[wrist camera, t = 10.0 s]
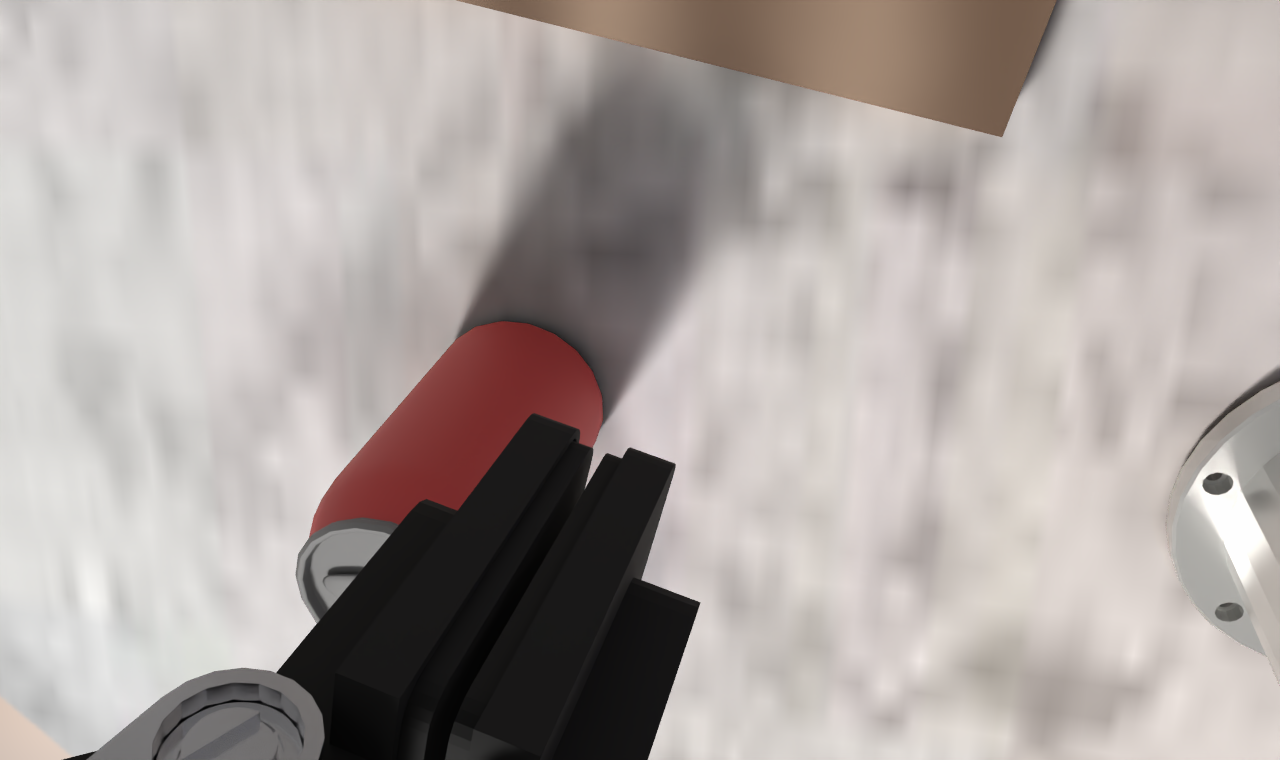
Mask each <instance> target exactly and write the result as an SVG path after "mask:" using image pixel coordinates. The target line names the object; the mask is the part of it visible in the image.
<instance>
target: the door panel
mask: <svg viewBox="0 0 1280 760" xmlns="http://www.w3.org/2000/svg"><path fill="white" fill-rule="evenodd" d="M457 1H461V2H465V3H469V4H473V5H477V6H481V7H485V8H489V9H493V10H497V11H501V12H505V13H509V14H513V15H517V16H521V17H525V18H529V19H533V20H537V21H541V22H545V23H549V24H553V25H557V26H561V27H565V28H569V29H573V30H577V31H581V32H585V33H589V34H593V35H597V36H601V37H605V38H609V39H613V40H617V41H621V42H625V43H629V44H633V45H637V46H641V47H645V48H649V49H653V50H657V51H661V52H665V53H669V54H673V55H677V56H681V57H685V58H688V59H692V60H696V61H700V62H704V63H708V64H712V65H716V66H720V67H724V68H728V69H732V70H736V71H740V72H744V73H748V74H752V75H756V76H760V77H764V78H768V79H772V80H776V81H780V82H784V83H788V84H792V85H796V86H800V87H804V88H808V89H812V90H816V91H820V92H824V93H828V94H832V95H836V96H840V97H844V98H848V99H852V100H856V101H860V102H864V103H868V104H872V105H876V106H880V107H884V108H888V109H892V110H896V111H900V112H904V113H908V114H912V115H916V116H920V117H924V118H928V119H932V120H936V121H940V122H944V123H947V124H951V125H955V126H959V127H963V128H967V129H971V130H975V131H979V132H983V133H987V134H991V135H995V136H999V137H1002V136H1003V134H1004V131H1005V129H1006V126H1007V124H1008V121H1009V119H1010V116H1011V114H1012V111H1013V108H1014V106H1015V103H1016V101H1017V98H1018V96H1019V93H1020V91H1021V88H1022V86H1023V83H1024V81H1025V78H1026V76H1027V73H1028V71H1029V68H1030V66H1031V63H1032V61H1033V58H1034V56H1035V53H1036V51H1037V48H1038V46H1039V43H1040V41H1041V38H1042V36H1043V33H1044V31H1045V28H1046V26H1047V23H1048V21H1049V18H1050V16H1051V13H1052V11H1053V8H1054V6H1055V3H1056V1H1057V0H457Z"/></svg>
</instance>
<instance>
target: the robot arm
mask: <svg viewBox="0 0 1280 760" xmlns="http://www.w3.org/2000/svg"><path fill="white" fill-rule="evenodd" d="M579 440H580V430H579V429H577V428H575V427H572V426H569V425H566V424H563V423H561V422H558V421H555V420H552V419H550V418H547V417H544V416H541V415H538V414H536V413H533V414H531V415H530V416H529V417H528V418H527V420H526V421H525V422H524V424H523V425H522V426H521V427H520V429H519V430H518V431H517V433H516V434H515V435H514V437H513V438H512V439H511V441H510V442H509V443H508V445H507V446H506V447H505V449H504V450H503V451H502V453H501V454H500V455H499V457H498V458H497V459H496V461H495V462H494V463H493V464H492V466H491V467H490V468H489V470H488V471H487V472H486V474H485V475H484V476H483V478H482V479H481V480H480V482H479V483H478V484H477V486H476V487H475V488H474V490H473V491H472V492H471V494H470V495H469V496H468V497H467V499H466V500H465V501H464V503H463V504H462V505H461V507H460V508H459V509H458V511H457V510H455V509H452V508H449V507H447V506H444V505H441V504H439V503H436V502H434V501H431V500H428V499H425V500H423V501H420V502H419V503H418V504H417V505H416V506H415V507H414V508H413V509H412V510H411V511H410V512H409V513H408V515H407V516H406V517H405V518H404V519H403V521H402V522H401V523H400V524H399V525H398V527H397V528H396V529H395V530H394V531H393V533H392V534H391V535H390V536H389V537H388V539H387V540H386V541H385V542H384V543H383V545H382V546H381V547H380V548H379V550H378V551H377V552H376V553H375V554H374V556H373V557H372V558H371V559H370V560H369V562H368V563H367V564H366V565H365V566H364V568H363V569H362V570H361V571H360V572H359V574H358V575H357V576H356V577H355V578H354V580H353V581H352V582H351V583H350V585H349V586H348V587H347V588H346V589H345V591H344V592H343V593H342V594H341V595H340V597H339V598H338V599H337V600H336V601H335V603H334V604H333V605H332V606H331V607H330V609H329V610H328V611H327V612H326V613H325V615H324V616H323V617H322V618H321V619H320V621H319V622H318V623H317V624H316V626H315V627H314V628H313V629H312V630H311V632H310V633H309V634H308V635H307V636H306V638H305V639H304V640H303V641H302V642H301V644H300V645H299V646H298V647H297V648H296V650H295V651H294V652H293V653H292V654H291V656H290V657H289V658H288V659H287V661H286V662H285V663H284V664H283V665H282V667H281V668H280V669H279V670H278V671H277V673H274V672H272V671H267V670H258V669H249V668H238V669H230V670H221V671H214V672H212V673H209V674H206V675H203V676H200V677H198V678H195V679H192V680H189V681H187V682H185V683H183V684H182V685H180V686H179V687H177V688H176V689H174V690H173V691H171V692H169V693H168V694H166V695H165V696H163V697H162V698H161V699H159V700H158V701H157V702H156V703H154V704H153V705H152V706H151V707H150V708H148V709H147V710H146V711H145V712H144V713H142V714H141V715H140V716H139V717H138V718H136V719H135V720H134V721H133V722H132V723H130V724H129V725H128V726H127V727H125V728H124V729H123V730H122V731H121V732H119V733H118V734H117V735H116V736H115V737H113V738H112V739H111V740H110V741H109V742H107V743H106V744H105V745H104V746H103V747H101V748H100V749H99V750H98V751H95V752H91V753H87V754H83V755H79V756H75V757H71V758H67V759H64V760H648V757H649V754H650V751H651V748H652V745H653V742H654V739H655V736H656V733H657V730H658V727H659V724H660V721H661V718H662V715H663V712H664V709H665V706H666V704H667V701H668V698H669V695H670V692H671V689H672V686H673V683H674V680H675V677H676V674H677V671H678V668H679V665H680V662H681V659H682V656H683V653H684V650H685V647H686V644H687V641H688V638H689V635H690V632H691V629H692V626H693V623H694V620H695V617H696V614H697V611H698V608H699V605H700V602H698V601H695V600H692V599H690V598H687V597H684V596H682V595H679V594H676V593H674V592H671V591H669V590H666V589H663V588H661V587H658V586H655V585H653V584H650V583H647V582H645V581H642V580H641V579H642V576H643V572H644V569H645V566H646V563H647V559H648V556H649V553H650V550H651V546H652V543H653V540H654V537H655V533H656V530H657V527H658V523H659V520H660V517H661V514H662V510H663V507H664V504H665V501H666V497H667V494H668V491H669V488H670V484H671V481H672V478H673V474H674V471H675V466H676V464H674V463H672V462H669V461H666V460H663V459H661V458H658V457H655V456H652V455H649V454H647V453H644V452H641V451H638V450H636V449H633V448H628V449H627V451H626V453H625V454H624V456H623V458H619V457H616V456H614V455H611V454H608V453H607V454H605V456H604V457H603V459H602V461H601V462H600V464H599V466H598V468H597V469H596V471H595V473H594V474H593V476H592V478H591V480H590V481H589V483H588V485H587V487H586V488H585V485H586V481H587V477H588V473H589V469H590V465H591V461H592V456H593V448H591V447H589V446H586V445H583V444H580V443H579ZM584 489H585V490H584ZM1166 532H1167V541H1168V549H1169V554H1170V556H1171V559H1172V562H1173V565H1174V568H1175V571H1176V574H1177V577H1178V580H1179V581H1180V583H1181V585H1182V587H1183V589H1184V590H1185V592H1186V594H1187V596H1188V597H1189V599H1190V601H1191V603H1192V604H1193V605H1194V607H1195V608H1196V609H1197V610H1198V611H1199V612H1200V613H1201V615H1202V616H1203V617H1204V618H1205V619H1206V620H1207V621H1208V622H1209V623H1210V624H1211V625H1212V626H1214V627H1215V628H1216V629H1218V630H1219V631H1221V632H1222V633H1224V634H1225V635H1226V636H1228V637H1229V638H1231V639H1232V640H1233V641H1235V642H1236V643H1238V644H1240V645H1242V646H1244V647H1246V648H1248V649H1250V650H1252V651H1254V652H1257V653H1259V654H1261V655H1263V656H1265V657H1267V659H1268V661H1269V663H1270V665H1271V668H1272V670H1273V672H1274V675H1275V677H1276V679H1277V681H1278V684H1279V686H1280V381H1279V382H1277V383H1275V384H1273V385H1271V386H1269V387H1267V388H1265V389H1263V390H1262V391H1260V392H1259V393H1257V394H1256V395H1254V396H1253V397H1251V398H1250V399H1249V400H1247V401H1246V402H1244V403H1243V404H1241V405H1240V406H1239V407H1237V408H1236V409H1234V410H1233V411H1231V412H1230V413H1229V414H1227V415H1226V416H1225V417H1224V418H1223V419H1222V420H1221V421H1220V422H1219V423H1218V424H1217V425H1216V426H1215V427H1214V428H1213V429H1212V430H1211V431H1210V432H1209V433H1208V434H1207V435H1206V436H1205V437H1204V438H1203V439H1202V440H1201V441H1200V442H1199V444H1198V445H1197V447H1196V448H1195V450H1194V451H1193V452H1192V454H1191V455H1190V457H1189V458H1188V460H1187V461H1186V463H1185V464H1184V465H1183V467H1182V468H1181V471H1180V473H1179V476H1178V478H1177V480H1176V483H1175V485H1174V488H1173V490H1172V493H1171V495H1170V498H1169V505H1168V512H1167V519H1166Z"/></svg>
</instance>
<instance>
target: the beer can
mask: <svg viewBox="0 0 1280 760" xmlns="http://www.w3.org/2000/svg"><path fill="white" fill-rule="evenodd" d="M533 413H536V414H538V415H541V416H544V417H547V418H550V419H552V420H555V421H558V422H561V423H563V424H566V425H569V426H572V427H575V428H577V429H579V430H580V440H579V443H580V444H583V445H586V446H589V447H591V448H592V447H593V445H594V443H595V441H596V439H597V436H598V433H599V430H600V427H601V424H602V422H603V407H602V395H601V392H600V389H599V387H598V384H597V382H596V379H595V376H594V374H593V371H592V370H591V369H590V367H589V366H588V365H587V363H586V362H585V361H584V360H583V358H582V357H581V356H580V354H579V353H578V352H577V351H576V350H575V349H574V348H573V347H571V346H570V345H569V344H567V343H566V342H565V341H563V340H562V339H561V338H559V337H558V336H556V335H555V334H554V333H551V332H549V331H546V330H544V329H541V328H539V327H536V326H533V325H531V324H528V323H518V322H507V321H499V322H495V323H490V324H486V325H481V326H476V327H474V328H473V329H471V330H470V331H468V332H467V333H465V334H464V335H462V336H460V337H459V338H457V339H456V340H455V341H454V343H453V344H452V345H451V346H450V347H449V348H448V349H447V351H446V352H445V353H444V354H443V355H442V356H441V358H440V359H439V360H438V361H437V362H436V363H435V365H434V366H433V367H432V368H431V369H430V370H429V371H428V373H427V374H426V375H425V376H424V377H423V378H422V380H421V381H420V382H419V383H418V384H417V385H416V386H415V388H414V389H413V390H412V391H411V392H410V393H409V395H408V396H407V397H406V398H405V399H404V400H403V402H402V403H401V404H400V405H399V406H398V407H397V408H396V410H395V411H394V412H393V413H392V414H391V415H390V417H389V418H388V419H387V420H386V421H385V422H384V423H383V425H382V426H381V427H380V428H379V429H378V430H377V432H376V433H375V434H374V435H373V436H372V437H371V438H370V440H369V441H368V442H367V443H366V444H365V445H364V447H363V448H362V449H361V450H360V451H359V452H358V454H357V455H356V456H355V457H354V458H353V459H352V460H351V462H350V463H349V464H348V465H347V466H346V467H345V469H344V470H343V471H342V472H341V473H340V474H339V475H338V477H337V478H336V479H335V480H334V482H333V483H332V485H331V486H330V488H329V489H328V491H327V492H326V494H325V495H324V497H323V498H322V500H321V502H320V504H319V506H318V509H317V511H316V513H315V515H314V518H313V523H312V527H311V531H310V536H309V539H308V541H307V542H306V543H305V545H304V546H303V548H302V549H301V551H300V552H299V554H298V560H297V568H296V579H297V582H298V586H299V590H300V594H301V598H302V600H303V602H304V603H305V605H306V607H307V608H308V610H309V612H310V613H311V615H312V616H313V618H314V620H315V621H316V623H318V622H319V621H320V619H321V618H322V617H323V616H324V615H325V613H326V612H327V611H328V610H329V609H330V607H331V606H332V605H333V604H334V603H335V601H336V600H337V599H338V598H339V597H340V595H341V594H342V593H343V592H344V591H345V589H346V588H347V587H348V586H349V585H350V583H351V582H352V581H353V580H354V578H355V577H356V576H357V575H358V574H359V572H360V571H361V570H362V569H363V568H364V566H365V565H366V564H367V563H368V562H369V560H370V559H371V558H372V557H373V556H374V554H375V553H376V552H377V551H378V550H379V548H380V547H381V546H382V545H383V543H384V542H385V541H386V540H387V539H388V537H389V536H390V535H391V534H392V533H393V531H394V530H395V529H396V528H397V527H398V525H399V524H400V523H401V522H402V521H403V519H404V518H405V517H406V516H407V515H408V513H409V512H410V511H411V510H412V509H413V508H414V507H415V506H416V505H417V504H418V503H419V502H420V501H423V500H425V499H428V500H431V501H434V502H436V503H439V504H441V505H444V506H447V507H449V508H452V509H455V510H457V511H458V509H459V508H460V507H461V505H462V504H463V503H464V501H465V500H466V499H467V497H468V496H469V495H470V494H471V492H472V491H473V490H474V488H475V487H476V486H477V484H478V483H479V482H480V480H481V479H482V478H483V476H484V475H485V474H486V472H487V471H488V470H489V468H490V467H491V466H492V464H493V463H494V462H495V461H496V459H497V458H498V457H499V455H500V454H501V453H502V451H503V450H504V449H505V447H506V446H507V445H508V443H509V442H510V441H511V439H512V438H513V437H514V435H515V434H516V433H517V431H518V430H519V429H520V427H521V426H522V425H523V424H524V422H525V421H526V420H527V418H528V417H529V416H530V415H531V414H533Z"/></svg>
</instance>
